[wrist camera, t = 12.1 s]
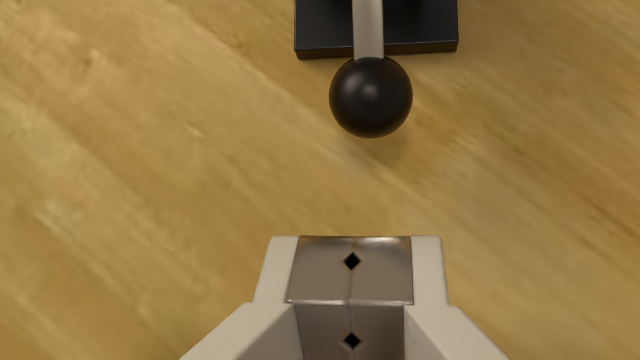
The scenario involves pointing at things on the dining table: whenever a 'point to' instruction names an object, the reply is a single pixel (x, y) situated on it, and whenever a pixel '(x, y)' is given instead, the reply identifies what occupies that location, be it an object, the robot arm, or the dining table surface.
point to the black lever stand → (399, 27)
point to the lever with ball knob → (370, 80)
